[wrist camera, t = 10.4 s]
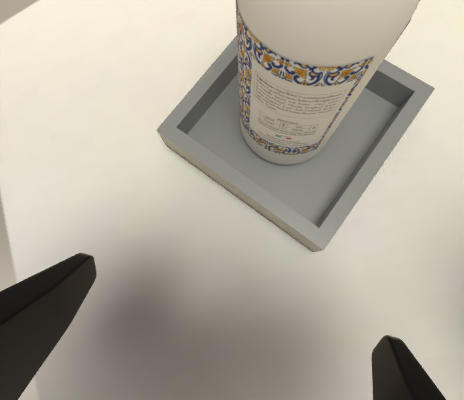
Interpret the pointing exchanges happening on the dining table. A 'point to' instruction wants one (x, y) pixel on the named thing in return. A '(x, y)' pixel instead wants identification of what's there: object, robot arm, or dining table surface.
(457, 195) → the dining table surface
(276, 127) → the bath foam
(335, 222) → the grey square tray
